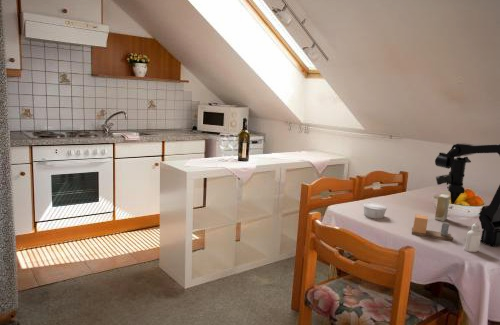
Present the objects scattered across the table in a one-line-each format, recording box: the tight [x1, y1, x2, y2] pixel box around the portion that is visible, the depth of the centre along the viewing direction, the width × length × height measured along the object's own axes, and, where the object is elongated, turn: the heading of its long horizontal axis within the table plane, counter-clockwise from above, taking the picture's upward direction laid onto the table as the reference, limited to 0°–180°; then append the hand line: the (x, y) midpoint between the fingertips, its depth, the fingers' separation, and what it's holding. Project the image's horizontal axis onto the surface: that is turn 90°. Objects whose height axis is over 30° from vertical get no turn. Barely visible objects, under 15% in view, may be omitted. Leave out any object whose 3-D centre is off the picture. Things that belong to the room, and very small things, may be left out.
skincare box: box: [434, 193, 451, 222], centre depth 203 cm, size 6×4×12 cm
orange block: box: [413, 213, 429, 234], centre depth 180 cm, size 5×5×7 cm
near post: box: [440, 221, 450, 237], centre depth 177 cm, size 3×3×6 cm
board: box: [411, 227, 453, 242], centre depth 179 cm, size 16×7×1 cm, turn 67°
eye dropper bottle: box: [464, 221, 482, 253], centre depth 163 cm, size 4×6×12 cm
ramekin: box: [363, 202, 387, 220], centre depth 203 cm, size 11×11×5 cm
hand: (452, 203), depth 188 cm, fingers closed
